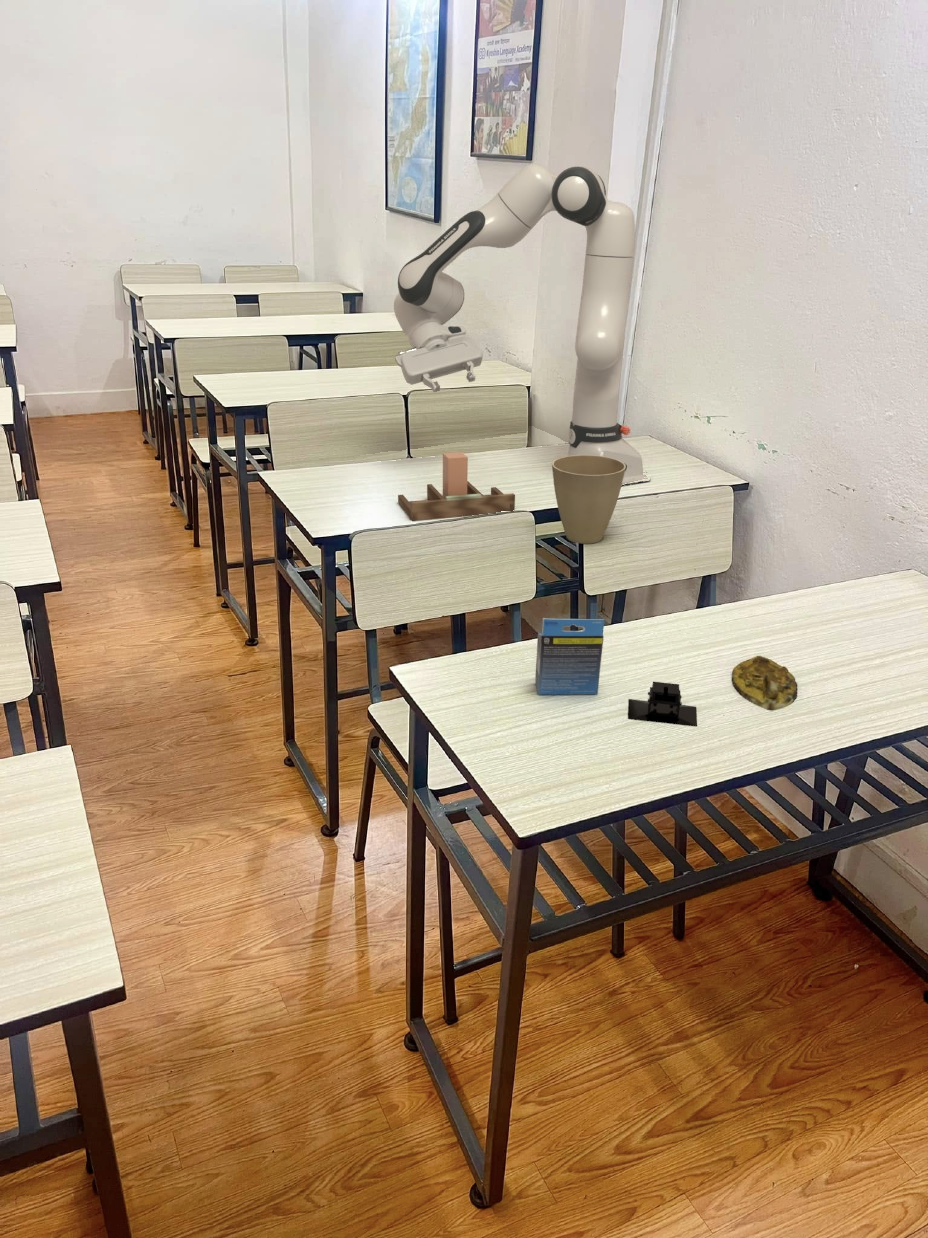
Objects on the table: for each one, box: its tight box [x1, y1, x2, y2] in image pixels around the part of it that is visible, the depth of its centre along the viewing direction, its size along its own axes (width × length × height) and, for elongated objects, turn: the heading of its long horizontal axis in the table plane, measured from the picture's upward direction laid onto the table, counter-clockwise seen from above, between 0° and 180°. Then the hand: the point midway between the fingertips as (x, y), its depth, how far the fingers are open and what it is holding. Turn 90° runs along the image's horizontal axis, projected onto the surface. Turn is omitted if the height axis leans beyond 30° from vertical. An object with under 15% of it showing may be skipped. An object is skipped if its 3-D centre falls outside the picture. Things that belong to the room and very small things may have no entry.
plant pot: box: [551, 455, 626, 545], centre depth 185 cm, size 15×15×16 cm
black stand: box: [627, 681, 698, 727], centre depth 125 cm, size 12×7×5 cm, turn 79°
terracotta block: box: [442, 451, 469, 499], centre depth 204 cm, size 4×4×12 cm
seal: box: [731, 655, 798, 711], centre depth 132 cm, size 9×5×15 cm
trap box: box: [397, 480, 516, 522], centre depth 205 cm, size 24×13×5 cm, turn 108°
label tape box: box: [534, 617, 605, 696], centre depth 128 cm, size 9×4×12 cm, turn 92°
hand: (455, 384), depth 215 cm, fingers open, 8 cm apart
